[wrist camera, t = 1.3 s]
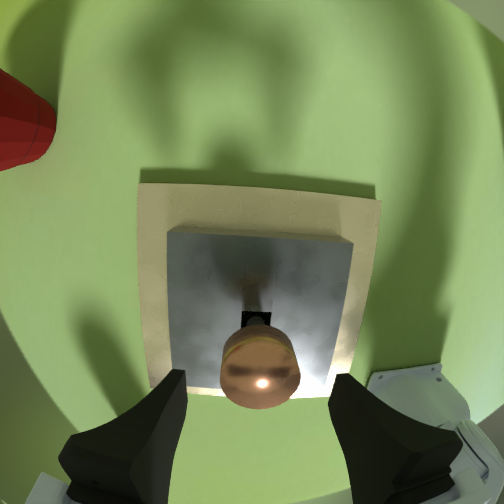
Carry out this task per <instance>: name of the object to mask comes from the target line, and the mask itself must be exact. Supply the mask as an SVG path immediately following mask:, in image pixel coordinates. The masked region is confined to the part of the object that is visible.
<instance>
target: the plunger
mask: <svg viewBox="0 0 504 504" xmlns="http://www.w3.org/2000/svg"><path fill="white" fill-rule="evenodd" d="M300 381H301V373H300V369H299V365H298V362H297V358H296V355H295V352H294V348H293V345H292V342H291V340H290V339H289V337H288V336H287V335H286V334H285V333H284V332H282V331H281V330H279V329H277V328H275V327H272V326H268V325H265V324H264V320H263V318H262V317H260V316H252V317H250V318H249V319H248V320H247V326H246V327H244V328H241V329H239V330H237V331H236V332H234V333H233V334H232V335H231V336H230V337H229V338H228V339H227V341H226V343H225V345H224V348H223V354H222V362H221V371H220V386H221V389H222V391H223V393H224V394H225V395H226V396H227V398H229V399H230V400H231V401H232V402H234V403H236V404H238V405H240V406H243V407H246V408H251V409H266V408H271V407H275V406H277V405H280V404H282V403H284V402H285V401H287V400H288V399H290V398H291V397H292V396H293V395H294V394H295V392H296V391H297V389H298V387H299V385H300Z"/></svg>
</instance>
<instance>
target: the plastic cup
mask: <svg viewBox="0 0 504 504" xmlns="http://www.w3.org/2000/svg"><path fill="white" fill-rule="evenodd" d="M55 131H56V116H55V112H54V109H53V108H52V107H51V106H50V105H49V103H48V102H47V101H46V100H44V99H43V98H41V97H40V96H38V95H37V94H35V93H34V92H33V91H32V90H31V89H30V88H29V87H27V86H26V85H24V84H23V83H21V82H20V81H18V80H17V79H15V78H14V77H12V76H11V75H9V74H8V73H6V72H5V71H3V70H2V69H0V171H3V170H7V169H10V168H13V167H16V166H19V165H23V164H27V163H30V162H34V161H35V160H38V159H39V158H40V157H41V156H42V155H44V154H45V153H46V151H47V149H48V148H49V146H50V145H51V143H52V140H53V137H54V134H55Z"/></svg>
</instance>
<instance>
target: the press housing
mask: <svg viewBox="0 0 504 504" xmlns="http://www.w3.org/2000/svg"><path fill="white" fill-rule="evenodd" d="M381 202H382V201H381V200H374V199H367V198H359V197H351V196H343V195H335V194H326V193H316V192H307V191H296V190H285V189H273V188H259V187H244V186H227V185H205V184H170V183H138V199H137V254H138V279H139V296H140V309H141V320H142V330H143V339H144V348H145V356H146V363H147V370H148V377H149V383H150V388H155V387H156V386H157V385H158V384H159V383H160V382H161V381H162V380H163V379H164V377H165V376H166V375H167V374H168V373H169V372H170V370H172V369H180V370H185V372H186V386H187V393H193V394H203V395H215V396H226V395H225V394H224V393H223V391H222V389H221V386H220V371H221V362H222V354H223V348H224V345H225V343H226V341H227V339H228V338H229V337H230V336H231V335H232V334H233V333H234V332H236V331H237V330H239V329H241V314H242V311H256V312H271V315H270V325H269V326H272V327H275V328H277V329H279V330H281V331H282V332H284V333H285V334H286V335H287V336H288V337H289V339H290V340H291V342H292V345H293V348H294V352H295V355H296V358H297V362H298V365H299V369H300V373H301V381H300V385H299V387H298V389H297V391H296V392H295V394H294V395H293V396H292V397H291V398H297V397H321V396H330V395H331V391H332V388H333V384H334V381H335V377H336V374H340V373H349V370H350V366H351V363H352V359H353V355H354V352H355V348H356V344H357V340H358V336H359V332H360V328H361V324H362V319H363V315H364V310H365V306H366V301H367V296H368V291H369V286H370V280H371V275H372V269H373V263H374V257H375V251H376V244H377V237H378V229H379V221H380V212H381Z"/></svg>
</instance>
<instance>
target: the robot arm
mask: <svg viewBox="0 0 504 504" xmlns="http://www.w3.org/2000/svg"><path fill="white" fill-rule="evenodd" d="M441 369H442V364H441V363H436V364H431V365H425V366H419V367H412V368H405V369H398V370H390V371H381V372H375V373H373V374H372V375H371V377H370V380H369V383H368V386H367V389H366V388H365V387H364V386H363V385H362V384H360V383H359V382H358V381H357V380H356V379H355V378H353V377H352V376H351V375H350V374H349V373H340V374H336V377H335V381H334V384H333V388H332V391H331V395H330V398H329V401H328V407H329V412H330V417H331V421H332V424H333V426H334V429H335V432H336V435H337V437H338V440H339V443H340V445H341V448H342V451H343V453H344V457H345V460H346V464H347V469H348V474H349V479H350V485H351V491H352V499H353V504H496V501H497V499H498V497H499V495H500V493H501V490H502V488H503V486H504V460H503V459H502V457H501V456H500V454H499V452H498V450H497V449H496V447H495V446H494V445H493V443H492V442H491V441H490V439H489V438H488V437H487V436H486V435H485V434H484V432H483V431H482V430H481V429H480V428H479V427H478V426H477V425H476V424H475V423H474V422H473V421H471V420H470V410H469V406H468V404H467V402H466V400H465V399H464V397H463V396H462V395H461V394H460V393H459V392H458V391H457V390H456V388H455V387H454V386H453V385H452V384H451V383H450V382H449V381H448V380H447V379H446V377H445V376H444V375H443V374H442V373H441V372H440V371H441ZM379 376H380V377H379ZM187 403H188V398H187V386H186V372H185V370H180V369H172V370H170V372H169V373H168V374H167V375H166V376H165V377H164V379H163V380H162V381H161V382H160V383H159V384H158V385H157V386H156V387H155V388H154V389H153V390H152V391H151V392H150V393H149V394H148V395H147V396H146V397H145V398H143V399H142V400H141V401H140V402H139V403H138V404H136V405H135V406H134V407H132V408H131V409H130V410H128V411H127V412H125V413H124V414H122V415H121V416H119V417H117V418H115V419H113V420H112V421H110V422H108V423H106V424H103V425H101V426H99V427H96V428H94V429H91V430H88V431H85V432H81V433H78V434H74V435H71V436H70V438H69V439H68V441H67V442H66V444H65V445H64V447H63V449H62V451H61V453H60V454H59V456H58V460H59V462H60V464H61V466H62V468H63V469H64V471H65V472H66V473H67V475H68V476H69V478H70V479H71V480H72V481H71V484H70V486H68V485H67V484H66V483H64V482H62V481H60V480H58V479H56V478H54V477H52V476H50V475H47V474H45V473H43V472H42V473H41V474H40V476H39V478H38V479H37V481H36V483H35V485H34V487H33V489H32V491H31V492H30V494H29V496H28V498H27V500H26V502H25V504H168V494H169V486H170V478H171V471H172V465H173V459H174V455H175V451H176V447H177V444H178V441H179V437H180V434H181V431H182V427H183V424H184V420H185V416H186V409H187ZM486 474H487V475H486ZM485 475H486V477H485V478H484V479H483V480H482V478H483V477H484V476H485Z"/></svg>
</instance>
